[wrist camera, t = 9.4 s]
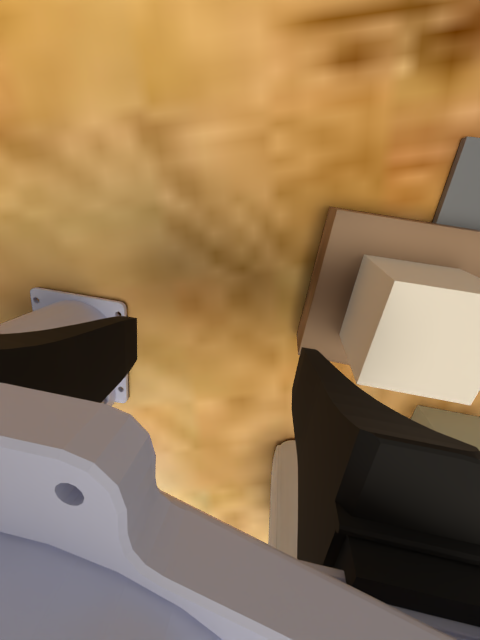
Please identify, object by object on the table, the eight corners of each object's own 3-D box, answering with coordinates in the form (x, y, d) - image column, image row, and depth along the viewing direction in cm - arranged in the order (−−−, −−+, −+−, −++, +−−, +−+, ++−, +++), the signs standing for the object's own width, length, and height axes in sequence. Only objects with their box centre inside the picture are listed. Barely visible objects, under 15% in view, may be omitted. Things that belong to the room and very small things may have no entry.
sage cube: (457, 465, 23) (501, 527, 19) (395, 452, 24) (422, 510, 19) (484, 417, 22) (539, 472, 17) (416, 404, 22) (452, 455, 17)
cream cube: (422, 349, 17) (470, 405, 13) (339, 334, 18) (356, 383, 13) (460, 268, 15) (533, 302, 11) (363, 254, 15) (394, 280, 11)
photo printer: (313, 522, 28) (334, 738, 16) (269, 516, 28) (260, 720, 17) (322, 440, 24) (358, 641, 13) (272, 435, 25) (263, 623, 13)
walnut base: (419, 357, 21) (439, 383, 18) (296, 333, 21) (298, 354, 19) (482, 230, 17) (519, 238, 14) (329, 206, 17) (337, 209, 15)
